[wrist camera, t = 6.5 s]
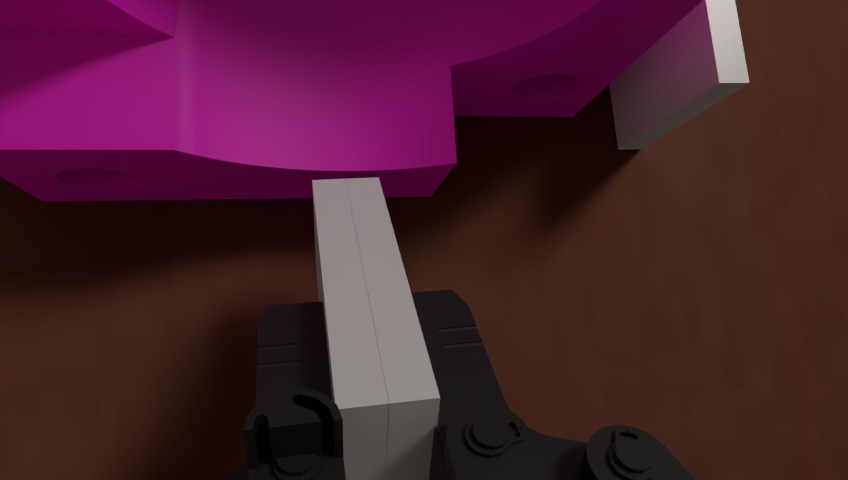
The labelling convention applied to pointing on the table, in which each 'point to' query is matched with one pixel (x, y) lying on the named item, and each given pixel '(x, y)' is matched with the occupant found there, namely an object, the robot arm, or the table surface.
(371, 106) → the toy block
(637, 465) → the robot arm
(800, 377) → the table surface
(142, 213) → the table surface
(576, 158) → the table surface
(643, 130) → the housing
